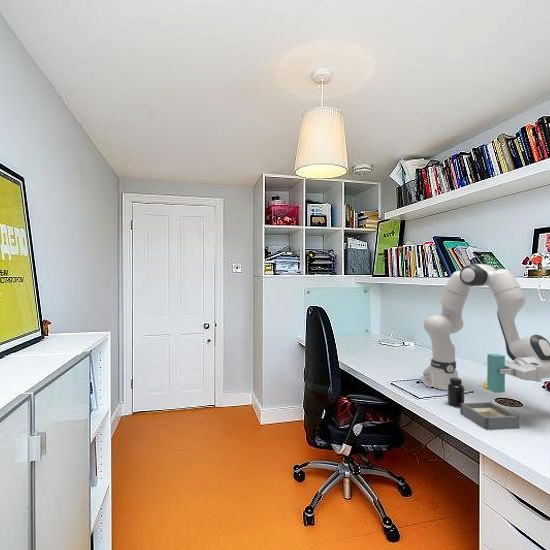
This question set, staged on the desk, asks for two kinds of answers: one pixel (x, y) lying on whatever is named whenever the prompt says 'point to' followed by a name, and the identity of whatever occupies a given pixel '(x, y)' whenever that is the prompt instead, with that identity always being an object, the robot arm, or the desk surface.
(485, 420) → the open box
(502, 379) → the peg
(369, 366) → the desk surface
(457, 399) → the supplement bottle
